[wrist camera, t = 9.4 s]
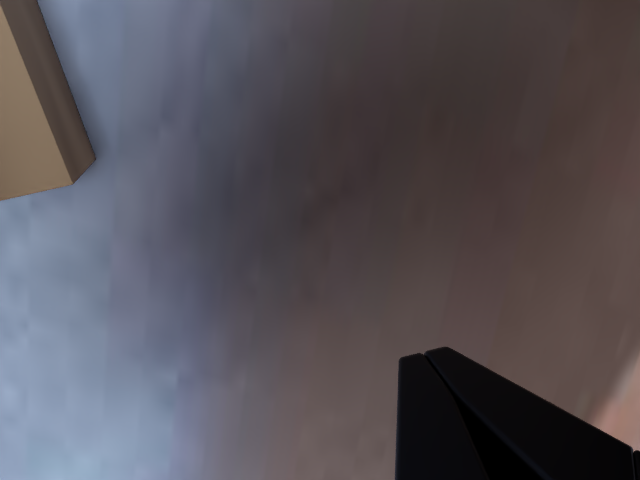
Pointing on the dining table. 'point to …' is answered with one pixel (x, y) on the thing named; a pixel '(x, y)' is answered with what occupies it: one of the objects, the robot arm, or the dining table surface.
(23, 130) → the stand
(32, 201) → the dining table surface
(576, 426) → the robot arm
